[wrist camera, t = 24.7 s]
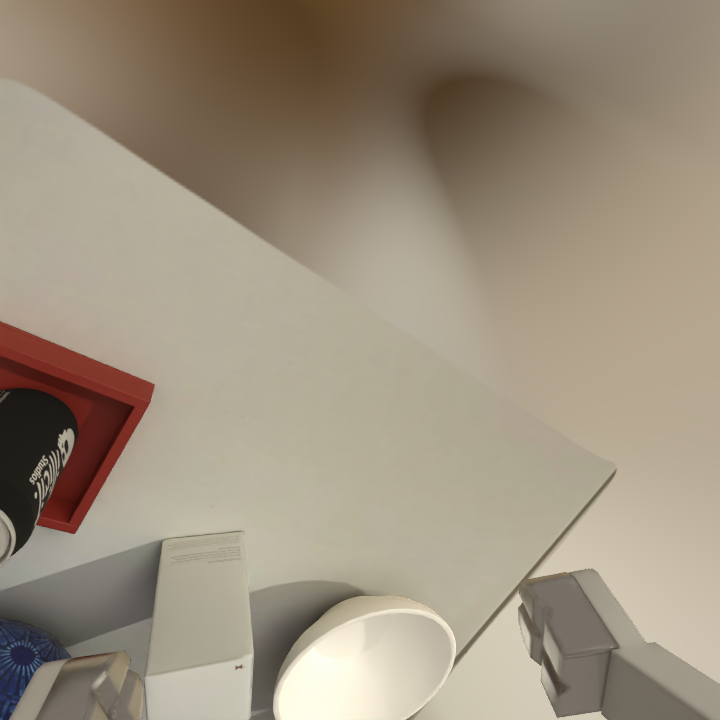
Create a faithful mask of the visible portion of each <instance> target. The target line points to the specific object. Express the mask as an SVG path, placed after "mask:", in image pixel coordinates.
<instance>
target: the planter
mask: <svg viewBox="0 0 720 720" xmlns="http://www.w3.org/2000/svg"><path fill="white" fill-rule="evenodd" d="M69 658H72V657H71V656H70V655H69V653H68V652H67V651H66V649H65V648H64V647H63V646H62V645H61V644H60V643H59V642H58V641H57V640H55V639H54V638H53V637H52V636H50V635H49V634H47V633H46V632H44V631H42V630H40V629H38V628H36V627H34V626H31V625H29V624H25V623H22V622H18V621H14V620H9V619H2V618H0V720H9V719H10V717H11V715H12V713H13V711H14V709H15V708H16V706H17V704H18V702H19V700H20V698H21V697H22V695H23V693H24V691H25V689H26V687H27V686H28V684H29V682H30V680H31V678H32V676H33V674H34V673H35V671H36V670H37V669H38V668H39V667H40V666H41V665H42V664H43V663H46V662H52V661H58V660H63V659H69Z"/></svg>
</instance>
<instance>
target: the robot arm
mask: <svg viewBox="0 0 720 720" xmlns="http://www.w3.org/2000/svg"><path fill="white" fill-rule="evenodd" d="M519 595H520V597H521V599H522V601H523V603H522V604H521V605H520V606H519V608H518V620H519V625H520V629H521V634H522V637H523V640H524V643H525V645H526V648H527V650H528V653H529V655H530V657H531V658H532V659H533V660H534V661H536V662H537V663H538V664H539V665H540V666H542V669H541V682H542V685H543V687H544V689H545V691H546V693H547V696H548V698H549V700H550V703H551V705H552V707H553V709H554V711H555V714H556V716H557V717H558V718H559V717H565V716H572V715H578V714H585V713H591V712H598V711H602V712H601V714H602V715H603V716H604V717H605V718H606V719H608V720H720V684H719V683H717V682H715V681H714V680H712V679H711V678H709V677H708V676H706V675H705V674H703V673H702V672H700V671H698V670H697V669H695V668H694V667H692V666H691V665H689V664H688V663H686V662H685V661H683V660H681V659H680V658H678V657H677V656H675V655H674V654H672V653H671V652H669V651H668V650H666V649H664V648H663V647H661V646H660V645H658V644H656V643H655V642H654V643H646V641H645V639H644V638H643V637H642V635H641V634H640V632H639V631H638V629H637V628H636V626H635V625H634V624H633V622H632V621H631V620H630V618H629V616H628V615H627V614H626V612H625V611H624V609H623V608H622V607H621V605H620V604H619V602H618V601H617V599H616V598H615V596H614V595H613V594H612V592H611V591H610V589H609V588H608V587H607V585H606V584H605V582H604V581H603V579H602V578H601V577H600V575H599V574H598V572H596V571H595V570H594V569H584V570H579V571H575V572H569V573H566V572H565V573H559V574H554V575H549V576H543V577H538V578H533V579H527V580H522V581H521V582H520V584H519ZM130 662H131V659H130V658H129V656H128V654H127V653H126V651H125V650H123V651H116V652H110V653H103V654H97V655H90V656H84V657H77V658H69V659H63V660H58V661H52V662H46V663H43V664H42V665H41V666H40V667H39V668H38V669H37V670H36V671H35V673H34V674H33V676H32V678H31V680H30V682H29V684H28V686H27V687H26V689H25V691H24V693H23V695H22V697H21V698H20V700H19V702H18V704H17V706H16V708H15V709H14V711H13V713H12V715H11V717H10V719H9V720H140V718H141V715H142V711H143V700H144V690H143V684H142V681H141V679H140V677H139V675H138V674H137V673H135V672H133V671H131V670H129V669H128V668H129V665H130Z"/></svg>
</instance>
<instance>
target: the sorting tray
mask: <svg viewBox="0 0 720 720" xmlns="http://www.w3.org/2000/svg"><path fill="white" fill-rule="evenodd" d="M12 388H30V389H36V390H40V391H43V392H46V393H49V394H51V395H53V396H55V397H57V398H58V399H60V400H61V401H63V402H64V403H65V404H66V405H67V406H68V407H69V408H70V409H71V411H72V412H73V414H74V416H75V418H76V420H77V424H78V438H77V441H76V444H75V446H74V448H73V450H72V452H71V454H70V456H69V458H68V460H67V462H66V464H65V466H64V468H63V470H62V472H61V474H60V477H59V479H58V481H57V483H56V485H55V487H54V489H53V491H52V493H51V495H50V497H49V499H48V501H47V503H46V505H45V507H44V509H43V511H42V513H41V515H40V517H39V519H38V521H37V523H36V525H39V526H43V527H47V528H51V529H55V530H60V531H64V532H68V533H72V534H75V533H76V531H77V530H78V528H79V526H80V524H81V523H82V521H83V519H84V517H85V516H86V514H87V512H88V510H89V509H90V507H91V505H92V503H93V502H94V500H95V498H96V496H97V495H98V493H99V491H100V489H101V488H102V486H103V484H104V482H105V481H106V479H107V477H108V475H109V474H110V472H111V470H112V468H113V467H114V465H115V463H116V461H117V460H118V458H119V456H120V454H121V453H122V451H123V449H124V447H125V446H126V444H127V442H128V440H129V439H130V437H131V435H132V433H133V432H134V430H135V428H136V426H137V425H138V423H139V421H140V419H141V418H142V416H143V414H144V412H145V410H146V409H147V407H148V406H149V404H150V401H151V397H152V393H153V389H154V384H152V383H150V382H147V381H145V380H142V379H140V378H137V377H135V376H132V375H130V374H128V373H125V372H123V371H120V370H118V369H115V368H113V367H110V366H108V365H106V364H103V363H101V362H98V361H96V360H93V359H91V358H88V357H86V356H83V355H81V354H79V353H76V352H74V351H71V350H69V349H66V348H64V347H61V346H59V345H57V344H54V343H52V342H49V341H47V340H44V339H42V338H39V337H37V336H35V335H32V334H30V333H27V332H25V331H22V330H20V329H17V328H15V327H13V326H10V325H8V324H5V323H3V322H0V391H2V390H6V389H12Z"/></svg>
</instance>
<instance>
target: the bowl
mask: <svg viewBox="0 0 720 720" xmlns="http://www.w3.org/2000/svg"><path fill="white" fill-rule="evenodd" d="M455 655H456V642H455V638H454V635H453V632H452V631H451V629H450V628H449V626H448V625H447V624H446V622H445V621H444V620H443V619H442V618H441V617H440V616H439V615H438V614H437V613H435V612H434V611H433V610H431V609H430V608H429V607H427V606H426V605H423V604H421V603H418V602H415V601H413V600H410V599H408V598H404V597H398V596H376V597H375V596H358V597H353V598H350V599H347V600H344V601H342V602H340V603H338V604H336V605H335V606H333V607H331V608H330V609H329V610H327V611H326V612H325V613H324V614H323V615H322V616H321V617H320V618H319V620H318V621H316V622H315V623H314V624H313V625H312V626H311V627H309V628H308V629H307V630H306V631H305V632H304V633H303V634H302V635H301V636H300V638H299V639H298V640H297V641H296V642H295V643H294V645H293V647H292V648H291V650H290V652H289V653H288V655H287V657H286V659H285V660H284V662H283V664H282V666H281V668H280V671H279V674H278V677H277V681H276V685H275V689H274V697H273V713H274V717H275V720H406V719H407V718H409V717H410V716H412V715H413V714H415V713H416V712H417V711H418V710H419V709H420V708H422V707H423V706H424V705H425V704H426V703H427V702H428V701H429V700H430V699H431V698H432V697H433V696H434V695H435V694H436V693H437V692H438V690H439V689H440V687H441V686H442V685H443V683H444V682H445V680H446V679H447V677H448V675H449V673H450V671H451V669H452V666H453V663H454V659H455Z"/></svg>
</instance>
